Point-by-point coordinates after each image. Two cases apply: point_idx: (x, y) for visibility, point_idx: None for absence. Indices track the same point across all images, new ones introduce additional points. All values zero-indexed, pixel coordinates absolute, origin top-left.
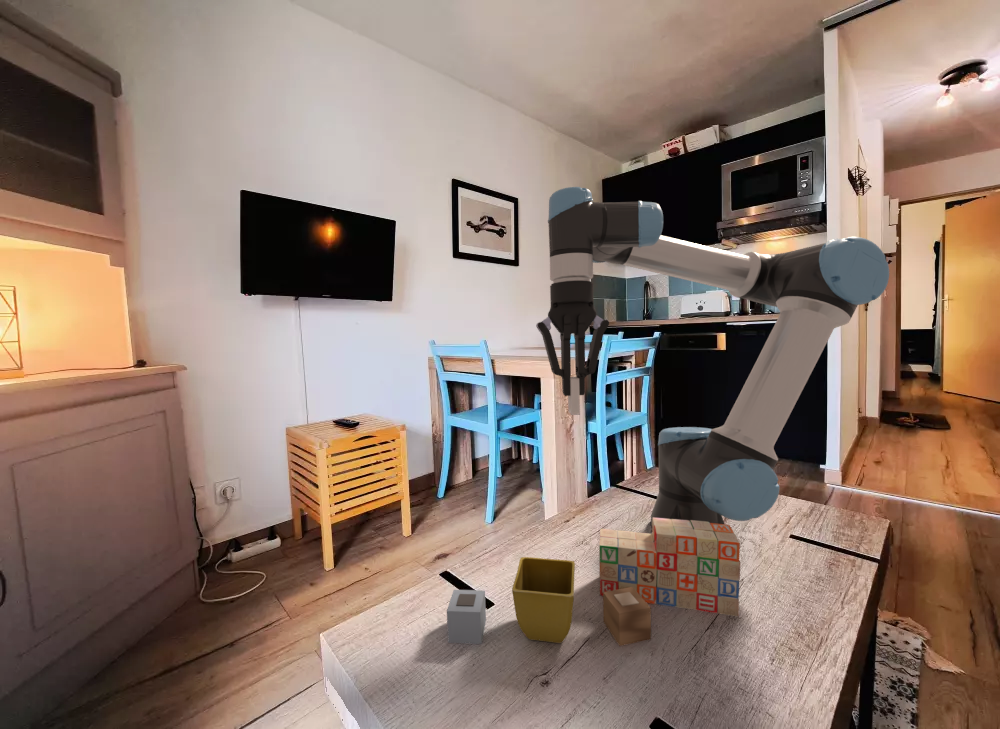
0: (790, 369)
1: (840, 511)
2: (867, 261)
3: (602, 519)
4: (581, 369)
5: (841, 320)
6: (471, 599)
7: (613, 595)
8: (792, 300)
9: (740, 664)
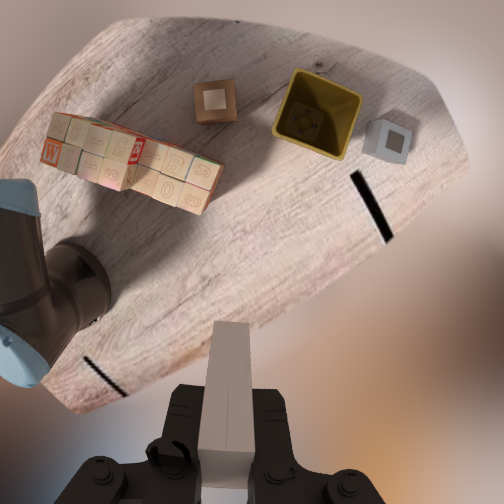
0: None
1: None
2: None
3: (165, 330)
4: (172, 497)
5: None
6: (390, 139)
7: (226, 109)
8: None
9: (136, 61)
